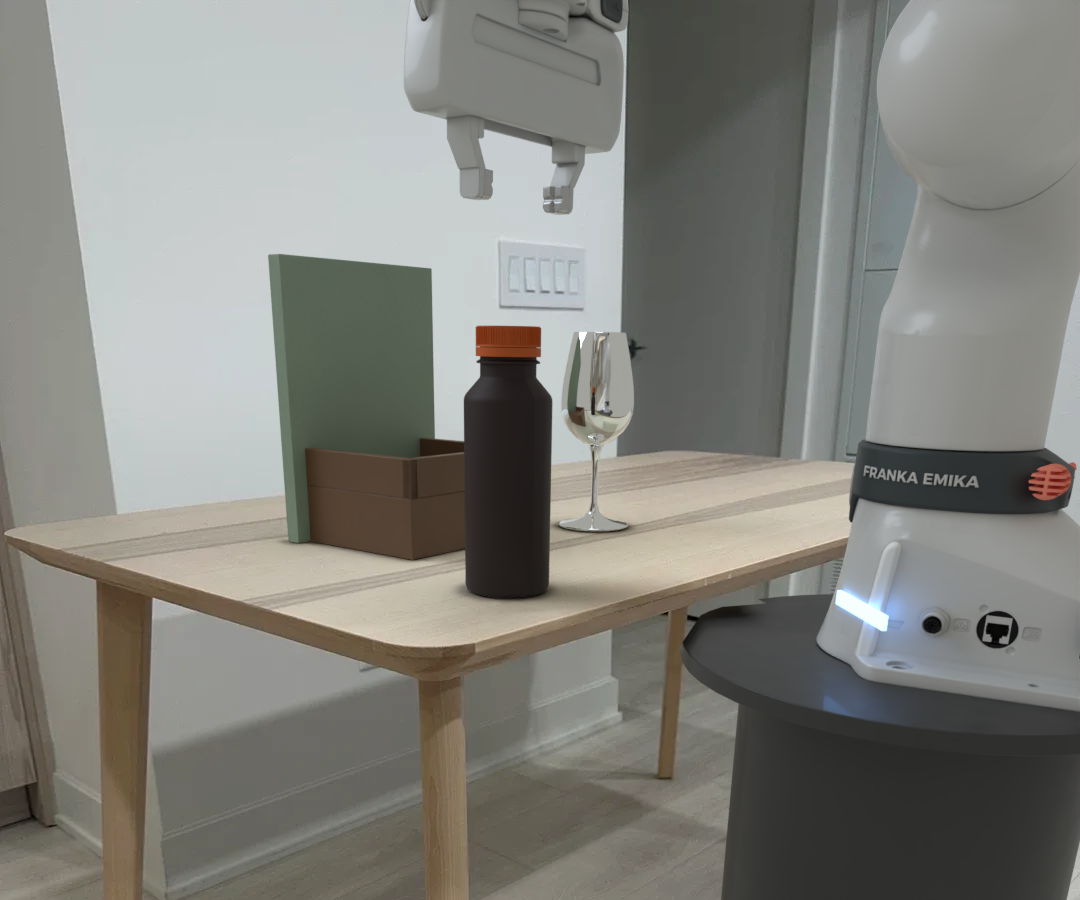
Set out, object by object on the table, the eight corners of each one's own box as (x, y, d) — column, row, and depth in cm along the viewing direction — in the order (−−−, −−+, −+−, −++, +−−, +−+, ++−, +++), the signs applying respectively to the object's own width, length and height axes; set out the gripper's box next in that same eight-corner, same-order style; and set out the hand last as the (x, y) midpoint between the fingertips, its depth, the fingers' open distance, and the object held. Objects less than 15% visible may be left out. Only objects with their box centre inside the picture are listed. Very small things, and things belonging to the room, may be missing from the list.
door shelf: (534, 533, 107) (538, 264, 98) (401, 562, 92) (390, 247, 83) (426, 517, 116) (420, 268, 107) (288, 541, 101) (267, 254, 92)
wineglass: (635, 523, 114) (644, 333, 107) (619, 534, 107) (628, 332, 100) (569, 518, 116) (573, 332, 109) (549, 529, 109) (552, 331, 102)
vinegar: (456, 582, 84) (452, 325, 77) (533, 578, 87) (536, 327, 80) (478, 601, 78) (477, 324, 71) (560, 596, 81) (567, 326, 74)
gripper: (454, -83, 59) (455, 185, 64) (642, 9, 74) (630, 219, 79) (377, -61, 62) (383, 191, 67) (572, 22, 77) (565, 222, 82)
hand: (518, 206), depth 73 cm, fingers open, 8 cm apart
